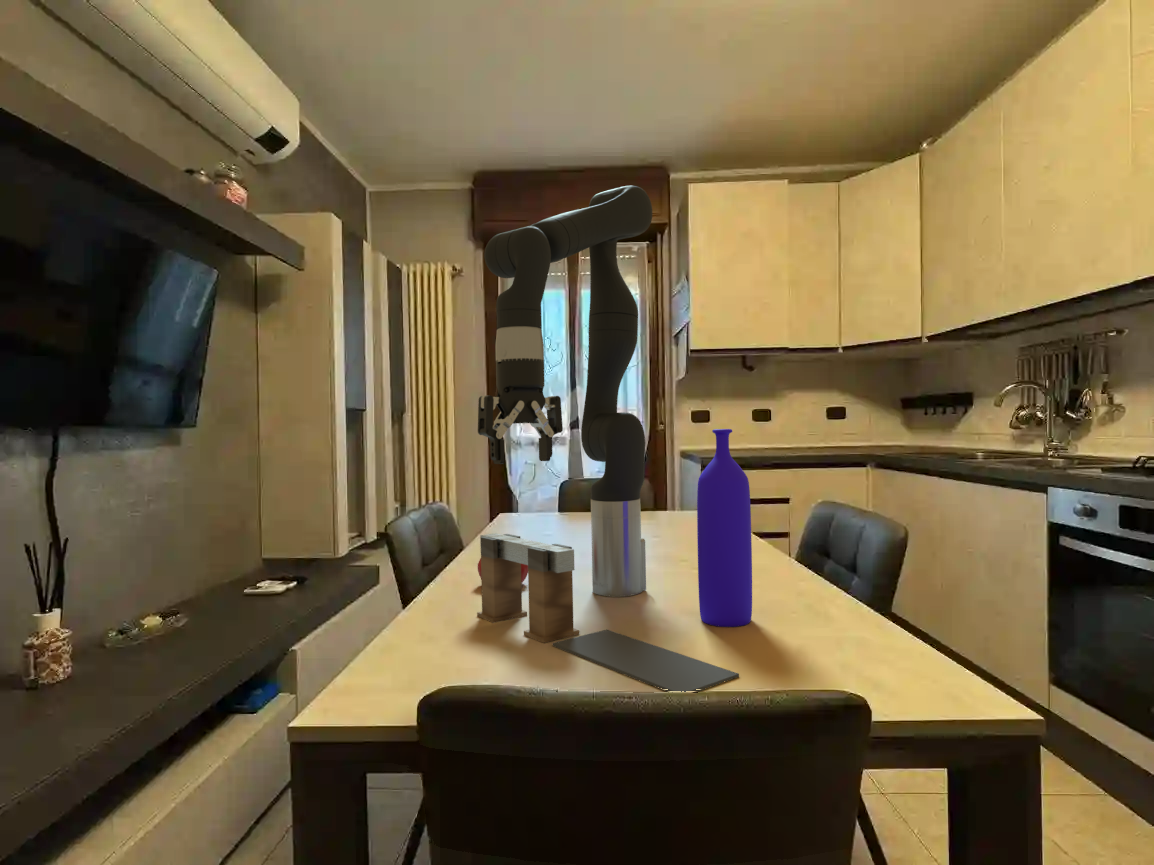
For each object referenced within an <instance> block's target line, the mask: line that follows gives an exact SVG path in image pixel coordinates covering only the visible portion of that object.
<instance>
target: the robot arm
mask: <svg viewBox="0 0 1154 865" xmlns="http://www.w3.org/2000/svg"><path fill="white" fill-rule="evenodd" d="M652 220H653V206H652V201H651V198H650V197H649V195H648V194H647V191H646V190H644V189H643V188H642V187H639V186H637V185H625V186H620V187H615V188H611V189H608V190H605V191H601V192H599V193H595V195H593V196H592V197H591V199H590V201H589V204H588V207H584V208H581V209H579V208H578V209H574V210H571V211H566V212H562V213H559V214H557V215H553V216H549V217H547V218H544V219H542V220H540V221H538V222H536V223H535V222H534V223H533V224H531V225H528V226H524V227H520V228H517V229H512V230H507V231H505V232H501V233H497V234H496V235H494V236H493V237H492V238H490V240H489V241H488V242H487V244H486V247H485V249H484V257H483V258H484V262H485V265H486V266H487V268H488V270H489V271H490V272H491V273H492V274H493V275H495V276H496V277H498V278H502V279H512V280H513V281H512V284H511V286H510V287H509V288H508V289H505V290H504V291H503V292H501V293H500V294H498V296H497V298H496V304H495V310H496V311H495V313H496V339H495V378H496V379H495V380H496V381H495V384H496V385H495V386H496V390H497V394H496V396H493V395H492V394H491V395H489V394H488V395H481V396H479V397H478V404H477V405H478V406H477V407H478V408H477V434H478V435H480V436H483V437H486V438H488V439H489V443H490V444H489V449H490V450H489V451H490V453H489V454H490V460H491V461H492V462H493V464H494V465H504V464H505V439H503V437H504V435H505V434H506V432H507V430H508V429H509V428H511V427H512V425H513V424H529V425H530V426H531V427H532V428H534V430H535V431H536V433H537V434H538V436H539V437H538V459H539V461H540V462H550V461H551V458H552V456H553V437H554V436H555V435H557V434H561V433H562V432H563V430H564V428H563V414H562V399H561V397H560V396H559V395H552V396H551V395H549V396H547V397H545V395H544V387H545V351H544V350H545V348H544V347H545V346H544V338H543V330H542V329H543V326H542V301H543V297H544V294H545V290H546V285H547V280H548V276H549V272H550V267H551V263H552V264H553V263H556V262H560V261H562V260H565V259H567V258H569V257H572V256H573V255H575V254H578V253H580V252H583V251H584V250H587V249H589V264H590V269H589V270H590V271H589V273H590V278H589V280H590V282H589V283H590V284H589V287H590V288H589V290H590V291H589V312H588V356H587V357H588V359H587V377H586V379H587V380H586V390H585V391H586V392H585V398H584V407H583V413H582V419H581V420H582V421H581V428H580V429H581V431H580V434H581V435H580V437H581V438H580V439H581V445H582V448H583V449H582V450H583V451H584V453H585V454H586V456H587V457H588V458H589V459H591V460H592V461H594V462H595V461H596V462H603V463H604V464H605V465H604V473H603V475H602V476H601V478H600V479H599V480H596V481H595V482H593V483H592V484H591V486H590V519H591V520H590V521H591V522H590V524H591V527H590V528H591V532H590V533H591V571H592V572H591V576H592V577H591V578H592V579H591V582H592V593H594V594H596V595H598V596H603V597H604V596H605V597H628V596H629V597H631V596H635V595H638V594H641V593H642V592H643V591H646V590H647V569H646V568H647V567H646V566H647V565H646V562H647V560H646V559H647V558H646V554H647V553H646V540H645V538H643V537H642V516H641V513H642V512H641V509H642V508H641V491H642V487H643V484H644V480H645V466H646V465H645V463H646V462H645V460H646V437H645V436H646V435H645V431H644V426H643V425H642V421H641V420H640V419H639V418H638V416H637V415H635V414H633V413H630V412H618V398H619V397H618V396H619V390H620V387H621V382H622V379H623V377H624V375H625V373H626V371H627V369H628V367H629V365H630V363H631V361H632V358H633V357H634V354H635V351H636V347H637V343H638V333H639V332H638V331H639V329H638V328H639V327H638V326H639V311H638V310H639V309H638V308H639V307H638V304H637V301H636V299H635V297H634V296H633V293H632V291H631V290H630V287H628V285H627V283H626V281H625V280H624V277H623V276H622V274H621V272H620V269H619V263H618V256H617V247H618V245H617V244H618V241H619V240H624V239H629V238H633V237H634V238H635V237H637V236H640V235H641V234H644V233H645V232H646V231H647V230H648V229H649V227H650V226H651V224H652ZM496 407H497V408H498V410H499V413H498V414H497V416H496V417H495V420H494V410H495V409H496ZM543 408H545V410H546V415H545V414H544V412H543V411H542V410H543Z"/></svg>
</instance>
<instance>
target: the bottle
mask: <svg viewBox="0 0 1154 865" xmlns="http://www.w3.org/2000/svg"><path fill="white" fill-rule="evenodd" d="M711 432H712V433H713V434H714V435H715V441H716V442H715V446H716V447H715V453H714V456H713V458H712V459H711V461H710V462H709V463H708V464H707V465H706V466H705V468H704V470H702V472H701V474H700V475H699V477H698V480H697V492H696V493H697V497H696V500H697V501H696V504H697V505H696V506H697V507H696V508H697V509H696V511H697V512H696V513H697V514H696V515H697V516H696V520H697V521H696V526H697V528H696V529H697V530H696V533H697V534H696V535H697V538H696V539H697V573H698V574H697V576H698V577H697V579H698V604H699V616H700V619H701V621H702V622H703V623H704V624H706V625H711V626H713V627H714V626H715V627H723V628H734V627H735V628H737V627H743V626H747V625H748V624H750V622H751V621H752V614H753V559H752V558H753V555H752V554H753V550H752V548H753V547H752V546H753V545H752V513H751V512H752V511H751V508H752V507H751V492H750V491H751V490H750V482H749V478H748V476H747V475H746V472H745V471H744V470H743V469H742V468H741V466H740V465H739V464H738V463H737V461H736V460H734V458H733V457H732V454H731V452H730V434H731V433H733V429H730V428H720V429H719V428H715V429H712V431H711Z"/></svg>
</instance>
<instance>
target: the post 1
mask: <svg viewBox="0 0 1154 865" xmlns="http://www.w3.org/2000/svg"><path fill="white" fill-rule="evenodd" d="M502 535H507V536H511V537H516V538H521V536H520V535H515V534H510V533H504V534H502ZM479 537H480V536H479ZM480 538H481V546H480V558H481V577H480V580H481V581H480V582H481V611H477V612H476V616H477V617H478V618H481V619H483V620H486V621H489V622H491V623H497V622H503V621H508V620H513V619H516V618H522V617H527V616H528V611H526V610H523V596H522V595H523V594H522V583H521V563H517V562H513V561H509V560H505V559H502V558H498V547H497V539H493V538H488V537H480ZM480 538H479V539H480Z"/></svg>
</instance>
